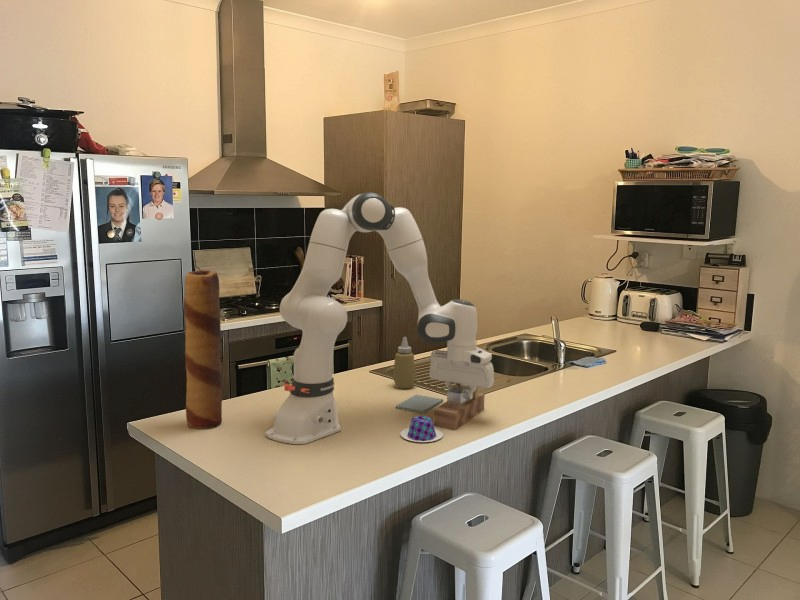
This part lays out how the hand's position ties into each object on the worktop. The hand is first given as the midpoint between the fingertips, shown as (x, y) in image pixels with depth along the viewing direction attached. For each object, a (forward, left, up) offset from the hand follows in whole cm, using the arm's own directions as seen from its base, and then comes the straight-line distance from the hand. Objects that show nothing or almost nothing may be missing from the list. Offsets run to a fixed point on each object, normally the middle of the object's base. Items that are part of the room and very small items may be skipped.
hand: (460, 397), depth 200 cm
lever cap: (0, 0, -1) cm, 1 cm away
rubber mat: (+4, +16, -6) cm, 18 cm away
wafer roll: (-44, +62, -6) cm, 76 cm away
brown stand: (0, 0, -6) cm, 6 cm away
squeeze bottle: (+19, +30, -6) cm, 36 cm away
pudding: (-20, +3, -7) cm, 21 cm away
